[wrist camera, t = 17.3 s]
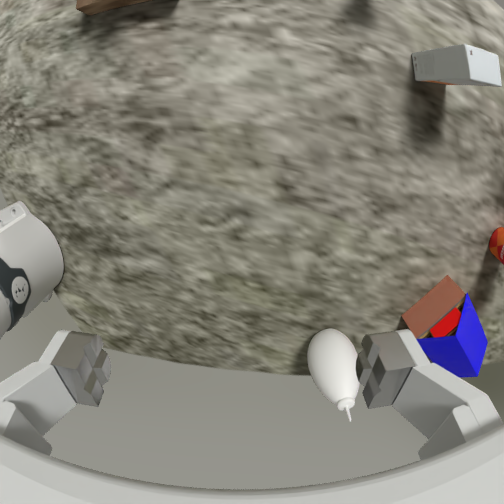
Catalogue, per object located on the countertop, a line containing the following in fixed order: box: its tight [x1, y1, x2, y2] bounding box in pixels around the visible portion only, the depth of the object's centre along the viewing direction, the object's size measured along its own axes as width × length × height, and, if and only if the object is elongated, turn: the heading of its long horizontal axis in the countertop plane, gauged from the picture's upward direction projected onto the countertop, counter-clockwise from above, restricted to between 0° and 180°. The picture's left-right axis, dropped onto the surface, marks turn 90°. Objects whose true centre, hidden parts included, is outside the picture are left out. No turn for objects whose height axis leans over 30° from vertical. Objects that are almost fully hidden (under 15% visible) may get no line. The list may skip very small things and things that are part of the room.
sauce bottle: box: [307, 329, 360, 421], centre depth 41 cm, size 8×8×18 cm
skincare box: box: [412, 44, 502, 87], centre depth 24 cm, size 6×4×12 cm
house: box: [402, 275, 487, 377], centre depth 45 cm, size 12×20×12 cm, turn 46°
